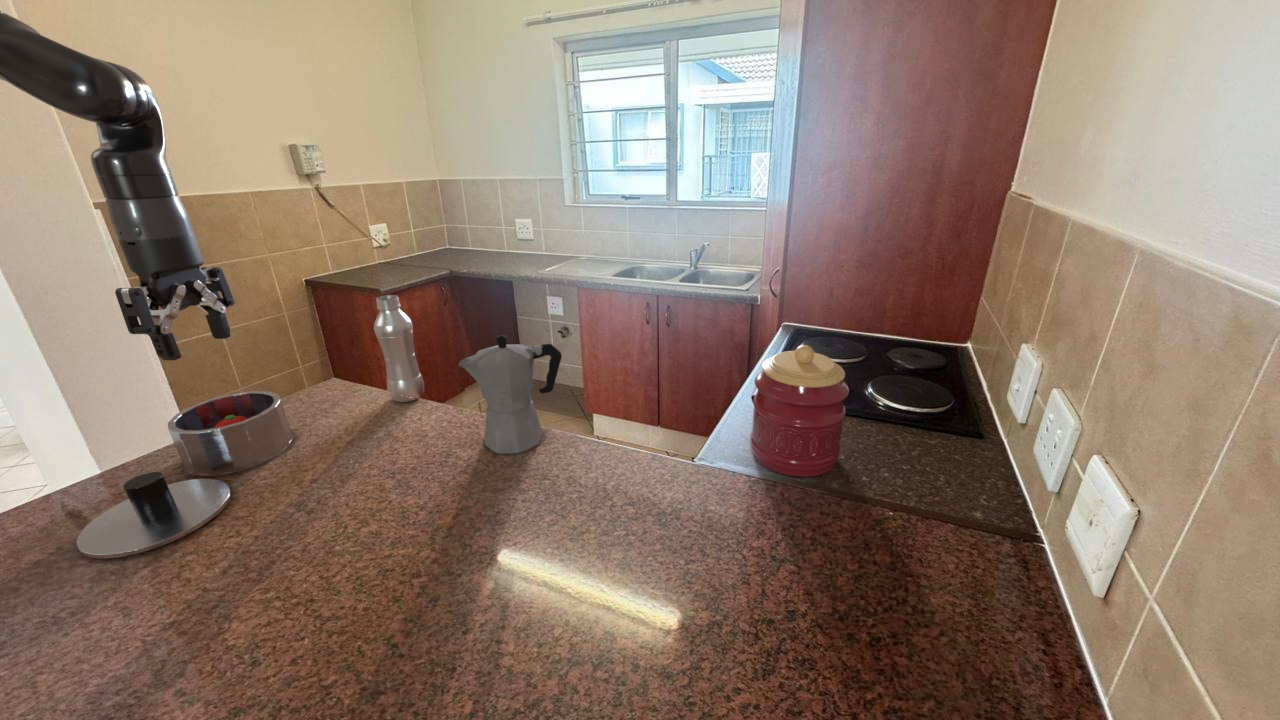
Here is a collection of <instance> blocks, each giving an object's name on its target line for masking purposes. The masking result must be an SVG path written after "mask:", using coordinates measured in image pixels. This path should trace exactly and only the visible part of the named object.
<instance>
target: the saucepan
mask: <svg viewBox="0 0 1280 720" xmlns="http://www.w3.org/2000/svg"><path fill="white" fill-rule="evenodd" d="M285 411H286V410H285V409H284V405H283V402H282V399H281V397H280V396H279V393H276V392H271V391H269V390H265V391H264V390H250V391H243V392H235V393H230V394H225V395H222V396H218V397H214V398H210V399H207V400H205V401H202V402H200V403H196V404H194V405H191V406H189V407H188V408H186V409H184V410H182V411H180V412H178V413H176V414H175V415H174V416H173V417H172V418H171V419H170V420H169V421H168V422H167V430H168V433H169V435H170V437H171V439H172V441H173V443H174V447H175V449H176V451H177V453H178V456H179V458H180V460H181V462H182V465H183V467H184V469H185V471H186V472H187V473H188V474H190V475H192V476H195V477H203V478H207V477H208V478H209V477H210V478H212V477H221V476H226V475H233V474H236V473H239V472H244V471H247V470H249V469H252V468H256V467H257V466H260V465H263V464H264V463H266V462H269V461H270V460H273V459H274V458H276V457H278V456H279V455H280V454H282V453H283V452H285V451H286V450H287V449H288V447H290V446H291V444H292V442H293V437H294V436H293V433H292V430H291V428H290V424H289V419H288V418H287V414H286V412H285ZM228 415H234V416H242V417H246V418H248V419H246V420H244V421H241V422H238V423H234V424H231V425H227V426H224V427H220V428H215V426H216V425H217V424H218V423H219V422H220V421H222V420H223V419H225V417H226V416H228Z"/></svg>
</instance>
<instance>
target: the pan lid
mask: <svg viewBox="0 0 1280 720" xmlns="http://www.w3.org/2000/svg"><path fill="white" fill-rule="evenodd" d="M123 489H124V492H125V494H126V496H127V498H128V499H125V500H123V501H120V502H119V503H117V504H115V505H113V506H111V507H110V508H108V509H107V510H105V511H104V512H102V513H100V514H99V515H98V516H96V517H95V518H93V519H92V520H91V521H90V522H89V523H88V524H87V525H85V526H84V528H83V529H82V530H81V531H80V533H79V534H78V536H77V539H76V547H77V549H78V551H79V552H80V553H81V554H82V555H83V556H85V557H88V558H92V559H101V560H103V559H115V558H116V559H117V558H123V557H128V556H133V555H137V554H141V553H144V552H147V551H151V550H154V549H157V548H159V547H162V546H166V545H167V544H169V543H173V542H174V541H177V540H179V539H181V538H183V537H186V536H187V535H190V534H191V533H192V532H195V531H196V530H198V529H200V528H201V527H203V526H204V525H206V524H207V523H209V522H210V521H211V520H213V519H214V518H215V517H217V516H218V515H219V514H220V513H221V512H222V511H223V510H224V509H225V508H226V506H227V505H228V504H229V501H230V500H231V495H232V492H231V489H230V487H229V485H228V484H227V483H226V482H225V481H222V480H219V479H213V478H195V479H188V480H182V481H178V482H177V481H176V482H173V483H169V484H168V483H167V481H166V480H165V477H164V475H163V473H162V472H160V471H152V472H147V473H142V474H139V475H137V476H135V477H132V478H130V479H129V480H127V481H126V482H125V483H124V484H123Z"/></svg>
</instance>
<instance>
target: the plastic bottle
mask: <svg viewBox="0 0 1280 720" xmlns="http://www.w3.org/2000/svg"><path fill="white" fill-rule="evenodd" d="M375 301H376V308H377V310H378V311H379V313H378V314H377V316H376V318H375V320H374V324H373V331H374V333H375V336H376V339H377V342H378V344H379V346H380V349H381V354H382V356H383V360H384V366H385V372H386V374H385V375H386V391H387V393H388V392H390V393H388V395H389V397H390V398H391V399H392V400H393V401H394V402H398V403H408V402H413V401H415V400H418V399H420V398H422V396H423V394H424V392H425V381H424V379H423V375H422V374H421V371H420V368H419V366H418V361H417V358H416V353H415V345H414V329H413V328H414V327H413V326H414V325H413V322H412V319H411V318H410V317H409V316H408V315H407V314H406V313H405V312H404V311H403V310H401V306H402V305H401V303H400V298H399V295H395V294H386V295H381V296H378V297H376V298H375ZM393 393H394V394H393ZM401 395H403V396H401ZM406 396H408V397H406ZM409 397H413V398H409ZM414 398H417V399H414Z"/></svg>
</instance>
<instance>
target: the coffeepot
mask: <svg viewBox="0 0 1280 720" xmlns="http://www.w3.org/2000/svg"><path fill="white" fill-rule="evenodd" d="M495 340H496V343H497V345H494V346H490V347H486V348H483V349H479V350H478V351H476V353H475V354H473V355H471V356H468V357H465V358H464V359H460V361H459V362H458V367H460V368H463V369H464V370H465V371H466V372H467V373H468V374H469V375H470V376H471V377H472V378H473V379H474V380H475V381H476V383H478V385H479V388H480V391H481V394H482V397H483V398H484V399H485V400H486V402H487V406H486V410H485V411H486V413H485V434H484V435H485V436H484V445H485V446H486V447H487V448H488V449H489V450H491V451H493V452H494V453H496V454H499V455H500V454H503V455H506V454H507V455H508V454H509V455H511V454H520V453H523V452H526V451H528V450H530V449H532V448H534V447H536V446H538V445H539V444H540V442H541V440H542V437H543V433H544V432H543V429H542V425H541V422H540V419H539V416H538V412H537V410H536V405H535V402H534V401H533V400H532V397H531V393H532V391H533V387H534V385H533V384H534V369H535V368H534V367H535V366H534V365H535V360H536V359H540V358H544V357H546V356H549V357H550V359H549V361H548V362H549V363H548V372H547V374H546V378H545V381H546V385H545V386H543V387H540V388H538V391H539V393H540V394H541V395H542V394H548V393H551V392H552V391H553V390H554V387H555V383H556V379H557V375H558V372H559V368H560V364H561V361H562V352H561V351H560V349H558V348H557V347H556V346H555V345H553V344H552V343H544V344H535V345H530V346H527V345H525V344H522V343H521V344H519V343H517V344H507V341H508V336H507V335H505V334H504V335H503V334H502V335H501V334H500V335H497V336H496V337H495ZM540 427H541V428H540Z"/></svg>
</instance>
